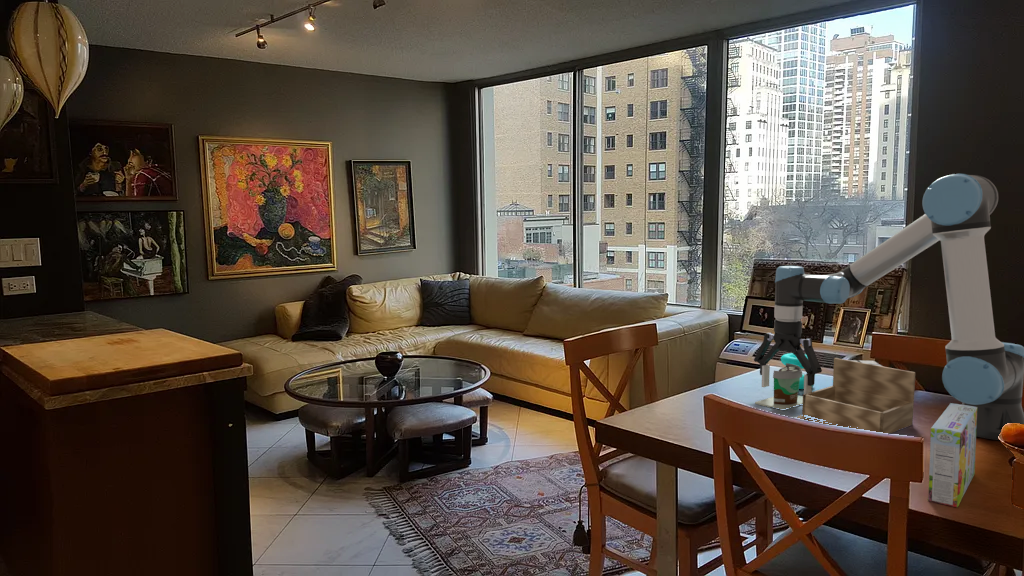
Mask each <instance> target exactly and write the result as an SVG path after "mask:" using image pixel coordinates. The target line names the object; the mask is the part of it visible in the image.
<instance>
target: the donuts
mask: <svg viewBox="0 0 1024 576" xmlns="http://www.w3.org/2000/svg"><path fill="white" fill-rule="evenodd" d="M804 354H805V356H806V357H807V355H806V353H804ZM807 359H808V358H807ZM780 362H781V363H782V365H784V367H786V363H788V364H793V365H797V366H799V367H800V368H801V370H803V369H804V368H803V366H802V365H801V363H800V362H799V360H798V359H797V357H796V356H795V355H794V354H793V353H792V352H788V353H784V354H783V355H781V357H780ZM804 370H805V369H804ZM802 375H803V376H802V377H800V381H799V389H804V374H803V373H802ZM814 385H815V384H814ZM814 385H812V388H813V387H814Z"/></svg>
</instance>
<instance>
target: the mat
mask: <svg viewBox="0 0 1024 576" xmlns="http://www.w3.org/2000/svg"><path fill="white" fill-rule="evenodd" d="M754 404H755V405H759V406H763V407H766V406H767V408H770V407H774V408H779V409H786V408H790V407H793V406H796V405H800V404H803V395H799V394H798V398H797V403H795V404H791V405H780V404H774V396H771V397H768V398H765V399H764V398H763V399H760V400H758V401H755V402H754Z"/></svg>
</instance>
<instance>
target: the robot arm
mask: <svg viewBox="0 0 1024 576" xmlns="http://www.w3.org/2000/svg"><path fill="white" fill-rule="evenodd" d="M998 202H999V191H998V189H997V187H996V186H995V184H994V183H993V182H992V181H991V180H990V179H988V178H986V177H984V176H981V175H978V174H966V173H956V174H955V173H952V174H949V175H945V176H942V177H939V178H937V179H936V180H935V181H933V182H932V183H931V184H930V185H929V186H928V187H927V188H926V189H925V192H924V193H923V197H922V203H921V204H922V209H923V212H924V214H923V215H921V216H919V218H917V219H916V220H914V221H912V223H909V224H908V225H907V226H905V227H904V228H902V229H901V230H899V231H898V232H897V233H895V234H893V235H892V236H891V237H889V238H888V239H886V240H885V241H883V242H882V243H880V244H879V245H878V246H876V247H874V248H873V249H871V250H870V251H868V252H866V253H865V254H864V255H862V256H861V257H859V258H858V259H856V260H855V261H854V262H852V263H851V264H849V265H848V266H846V267H845V268H843V269H842V270H840V271H839V272H836V273H835V272H834V273H828V274H822V275H821V274H807V273H805V268H804V267H803V266H798V265H780V266H778V267H777V268H776V270H775V278H774V279H775V280H774V283H775V287H774V289H775V291H774V297H775V298H774V310H773V311H774V318H775V319H774V321H773V332H774V334H773V332H766V333H764V335H763V341H762V343H761V344H760V347H759V349H758V351H757V353H756V354H755V356H754V358H753V362H755V363H758V364H759V375H760V376H761V388H766V387H769V386H770V374H771V373H770V369H771V368H770V366H771V364H769V362H770V361H771V360H772V359H773V358H774V356H775V355H777V353H779V351H781V352H786V353H793V354H794V355H795V356H796V357H797V359H798V360H799V362H800V363H801V365H802V366H803V368H804V371H805V373H804V374H803V375H804V390H803V394H806V393H810V392H813V390H812V389H813V387H812V385H815V381H816V380H815V377H816V376H815V375H816V374H820V373H822V371H823V369H822V366H821V365H820V362H819V360H818V358H817V355H816V352H815V349H814V348H813V339H812V338H806V339H805V338H802V333H803V321H802V319H803V307H804V304H803V302H813V303H814V302H815V303H826V304H830V305H833V304H839V305H841V304H844V303H845V302H847V300H848V299H851V298H854V297H855V296H858V295H860V294H861V293H862V292H863V290H864V289H866V288H867V287H868V286H869V285H871V284H873V283H874V282H876V281H877V280H879V279H881V278H882V277H884V276H886V275H887V274H889V273H890V272H892V271H893V270H895V269H896V268H899V267H900V266H901V265H903V264H904V263H906V262H908V261H910V259H913V258H914V257H915V256H918V255H919V254H920V253H922V252H924V251H925V250H926V249H928V248H930V247H932V246H933V245H935V244H936V243H937V242H939V241H940V247H941V256H942V263H943V271H944V272H943V273H944V282H945V290H946V299H947V306H948V307H947V308H948V317H949V326H950V333H951V335H950V336H951V340H950V341H949V342H948V343H947V344H946V345H945V346H944V347H945V355H946V357H945V358H946V365H945V366H944V368H943V370H942V375H941V380H942V384H943V386H944V388H945V390H946V391H947V392H948V394H949V395H951V396H952V398H954V399H955V400H957V401H959V402H961V403H962V404H961V405H968V406H974V407H977V425H976V438H977V437H978V438H982V439H988V440H993V441H995V440H996V441H999V440H998V436H999V434H1000V432H1001V429H1002V427H1003V426H1004V425H1005V424H1007V423H1020V424H1024V408H1023V406H1022V403H1023V402H1022V401H1023V400H1022V399H1023V390H1024V389H1023V388H1024V346H1023V345H1021V344H1018V343H1017V344H1015V343H1012V342H1004V341H1000V340H999V339H998V338H997V337H996V332H995V331H996V330H995V323H994V322H995V321H994V314H993V305H992V297H991V296H992V295H991V289H990V288H991V287H990V279H989V269H988V261H987V253H986V251H987V250H986V244H985V243H986V242H985V235H986V234H987V233H988V232H989V231H990V230H991V228H992V226H991V217H990V215H992V213H993V212H994V211H995V209H996V207H997V205H998ZM772 341H774V345H772V347H771V348H770V345H771V344H772ZM802 347H803V348H802ZM769 348H770V349H769ZM768 349H769V350H768ZM767 351H768V352H767ZM805 354H806V355H807V357H806V356H805ZM807 358H808V359H807Z"/></svg>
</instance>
